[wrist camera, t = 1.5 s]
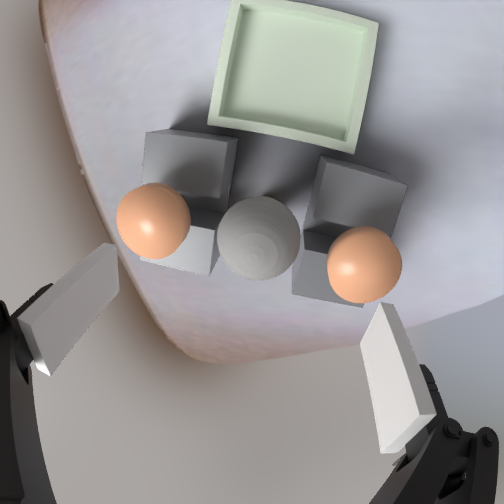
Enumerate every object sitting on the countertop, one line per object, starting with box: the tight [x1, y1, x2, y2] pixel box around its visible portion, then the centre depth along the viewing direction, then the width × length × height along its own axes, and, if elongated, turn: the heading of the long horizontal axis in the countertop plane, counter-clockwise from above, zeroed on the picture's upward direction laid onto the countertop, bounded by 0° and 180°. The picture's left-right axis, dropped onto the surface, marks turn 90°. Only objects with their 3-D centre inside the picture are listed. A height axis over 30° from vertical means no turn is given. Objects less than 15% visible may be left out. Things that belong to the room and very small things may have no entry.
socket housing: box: [140, 129, 407, 308], centre depth 24 cm, size 11×20×4 cm, turn 80°
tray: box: [207, 0, 379, 154], centre depth 20 cm, size 12×12×2 cm
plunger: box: [116, 182, 191, 259], centre depth 21 cm, size 5×5×6 cm
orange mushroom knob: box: [326, 226, 402, 303], centre depth 20 cm, size 5×5×6 cm
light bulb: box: [217, 196, 300, 280], centre depth 21 cm, size 5×6×10 cm
